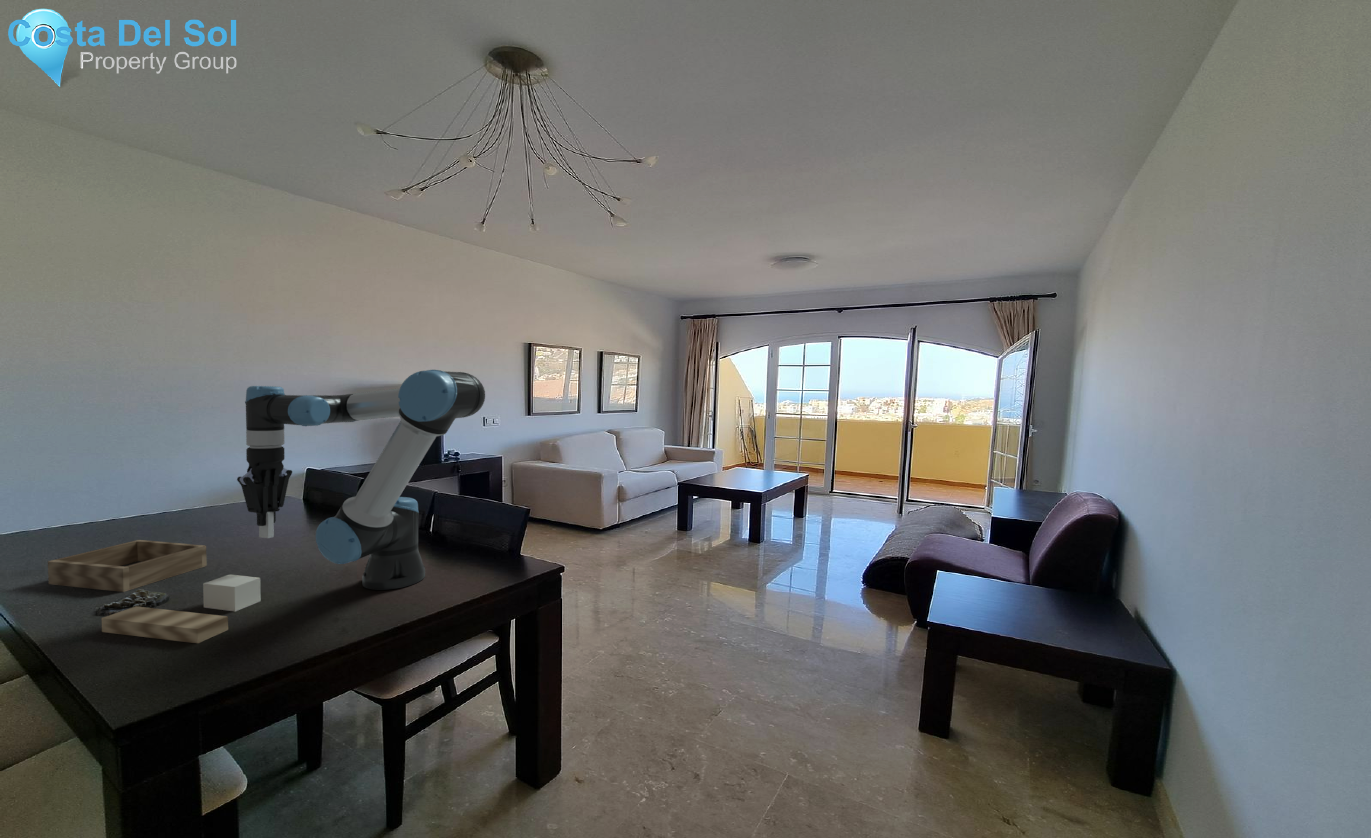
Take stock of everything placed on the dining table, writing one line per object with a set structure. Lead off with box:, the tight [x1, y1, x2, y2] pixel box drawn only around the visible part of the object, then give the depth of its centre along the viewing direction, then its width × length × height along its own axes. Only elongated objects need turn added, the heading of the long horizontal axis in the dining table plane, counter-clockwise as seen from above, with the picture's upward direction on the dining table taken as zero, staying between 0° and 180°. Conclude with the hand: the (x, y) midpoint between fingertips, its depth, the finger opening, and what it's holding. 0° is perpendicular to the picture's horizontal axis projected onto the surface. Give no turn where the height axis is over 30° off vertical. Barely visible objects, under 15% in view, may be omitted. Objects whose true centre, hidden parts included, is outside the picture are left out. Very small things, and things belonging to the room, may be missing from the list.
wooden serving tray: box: [47, 539, 208, 593], centre depth 139 cm, size 23×19×6 cm
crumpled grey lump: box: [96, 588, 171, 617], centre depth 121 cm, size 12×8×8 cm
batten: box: [101, 606, 229, 644], centre depth 109 cm, size 24×6×3 cm, turn 82°
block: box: [202, 574, 262, 612], centre depth 123 cm, size 9×6×6 cm, turn 80°
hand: (266, 537), depth 131 cm, fingers closed
